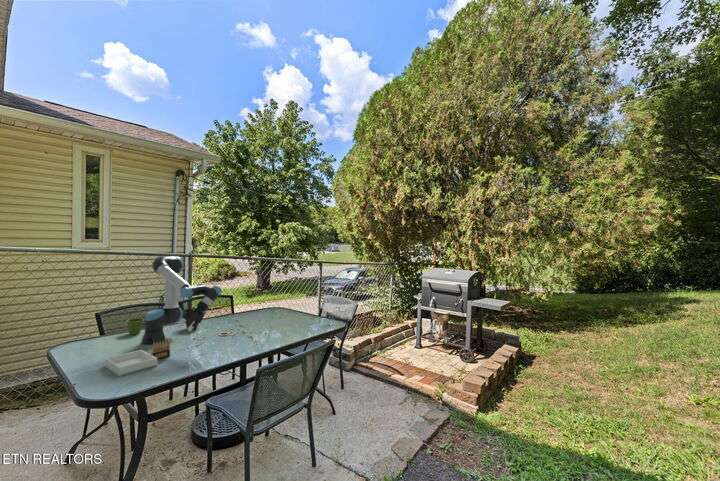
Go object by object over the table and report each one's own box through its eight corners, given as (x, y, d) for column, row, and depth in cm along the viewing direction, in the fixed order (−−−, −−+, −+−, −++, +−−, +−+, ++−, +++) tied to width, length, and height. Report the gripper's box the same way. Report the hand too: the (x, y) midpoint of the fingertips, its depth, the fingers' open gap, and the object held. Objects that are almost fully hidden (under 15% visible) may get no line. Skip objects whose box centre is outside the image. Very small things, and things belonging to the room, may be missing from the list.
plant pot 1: (136, 336, 250) (137, 322, 250) (121, 335, 250) (122, 321, 250) (147, 332, 261) (147, 318, 261) (132, 331, 262) (133, 317, 262)
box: (104, 366, 192) (104, 358, 192) (141, 357, 209) (141, 349, 209) (119, 376, 180) (119, 367, 180) (156, 366, 197) (157, 358, 197)
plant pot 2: (178, 329, 272) (179, 311, 272) (190, 325, 287) (191, 307, 287) (193, 331, 270) (194, 312, 270) (205, 326, 285) (206, 309, 285)
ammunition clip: (152, 361, 204) (153, 342, 204) (150, 360, 205) (152, 342, 205) (169, 356, 213) (170, 339, 213) (168, 356, 214) (169, 338, 214)
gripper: (218, 309, 228) (196, 334, 215) (198, 304, 241) (177, 328, 228) (211, 303, 223) (189, 328, 211) (191, 298, 237) (170, 322, 224)
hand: (183, 328), depth 220 cm, fingers open, 13 cm apart
